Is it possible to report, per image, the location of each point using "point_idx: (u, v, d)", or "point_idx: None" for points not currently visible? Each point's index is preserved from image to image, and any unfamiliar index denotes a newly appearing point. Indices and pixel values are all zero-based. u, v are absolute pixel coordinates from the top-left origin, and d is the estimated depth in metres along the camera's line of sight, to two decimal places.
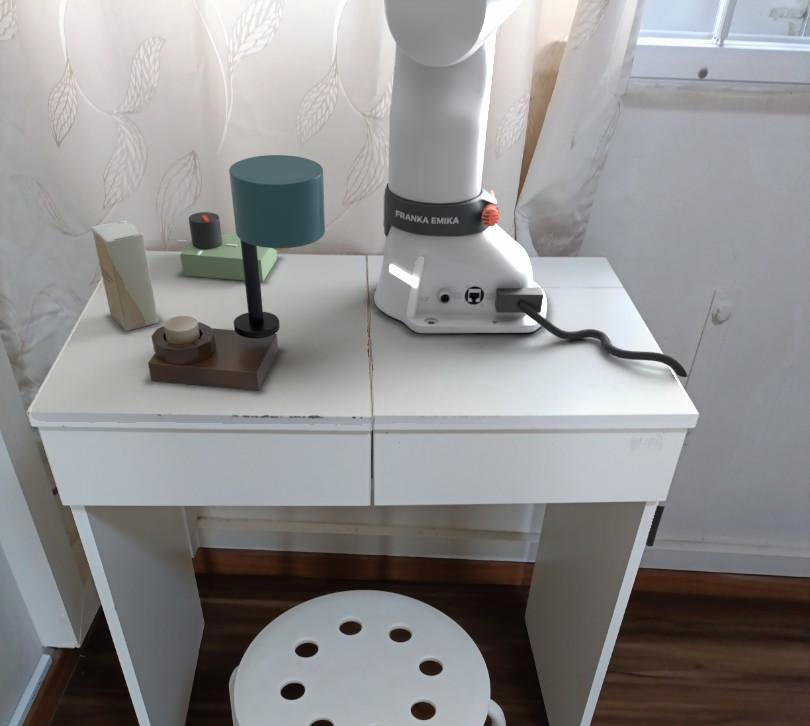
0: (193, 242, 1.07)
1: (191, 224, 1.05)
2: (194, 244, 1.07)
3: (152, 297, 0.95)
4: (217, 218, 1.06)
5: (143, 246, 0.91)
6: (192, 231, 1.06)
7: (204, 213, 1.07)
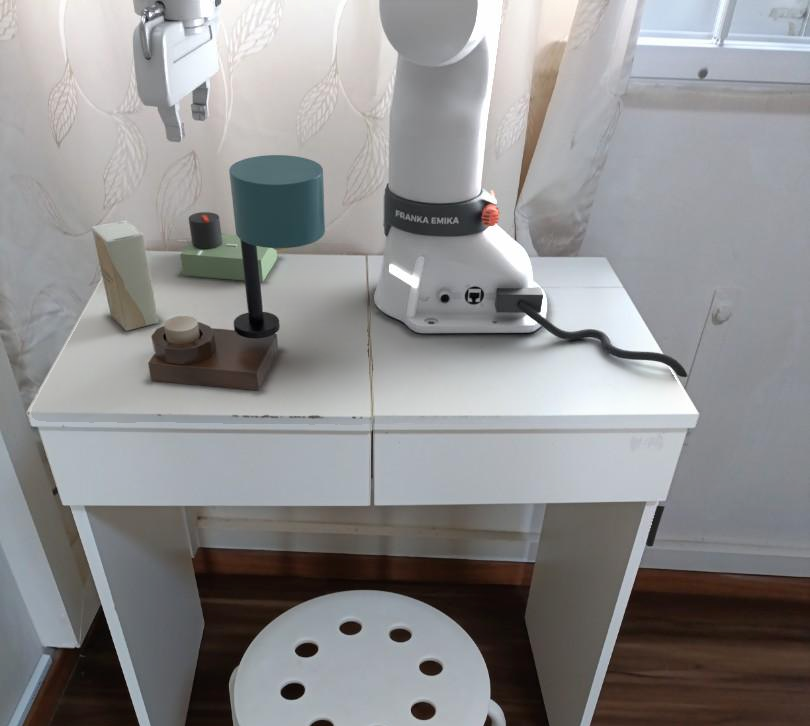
0: (193, 242, 1.07)
1: (191, 224, 1.05)
2: (194, 244, 1.07)
3: (152, 297, 0.95)
4: (217, 218, 1.06)
5: (143, 246, 0.91)
6: (192, 231, 1.06)
7: (204, 213, 1.07)
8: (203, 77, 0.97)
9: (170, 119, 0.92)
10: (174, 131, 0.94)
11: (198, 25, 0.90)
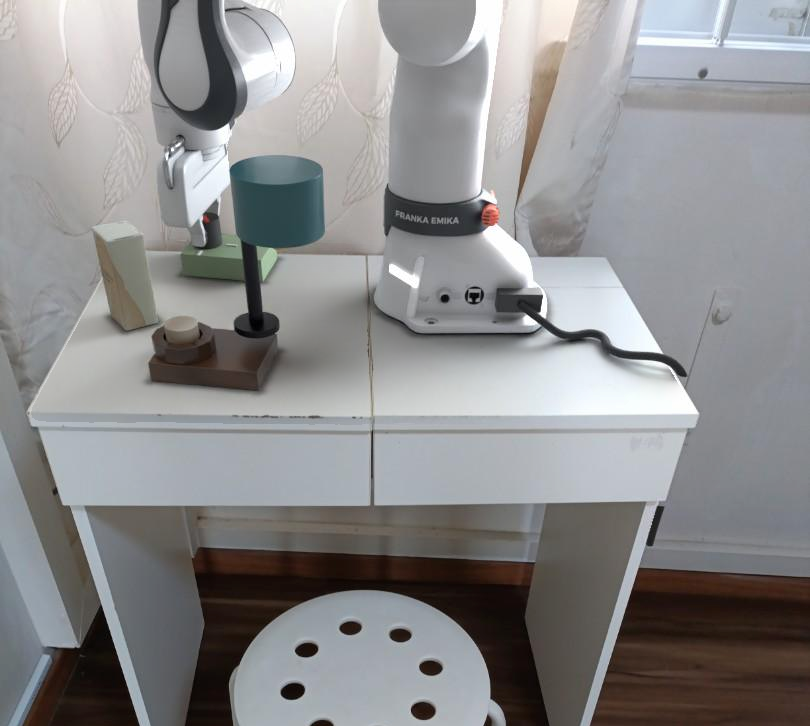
0: None
1: None
2: None
3: (152, 297, 0.95)
4: (217, 218, 1.06)
5: (143, 246, 0.91)
6: None
7: (204, 213, 1.07)
8: (219, 190, 1.06)
9: (195, 228, 1.03)
10: (198, 238, 1.04)
11: (215, 151, 0.99)
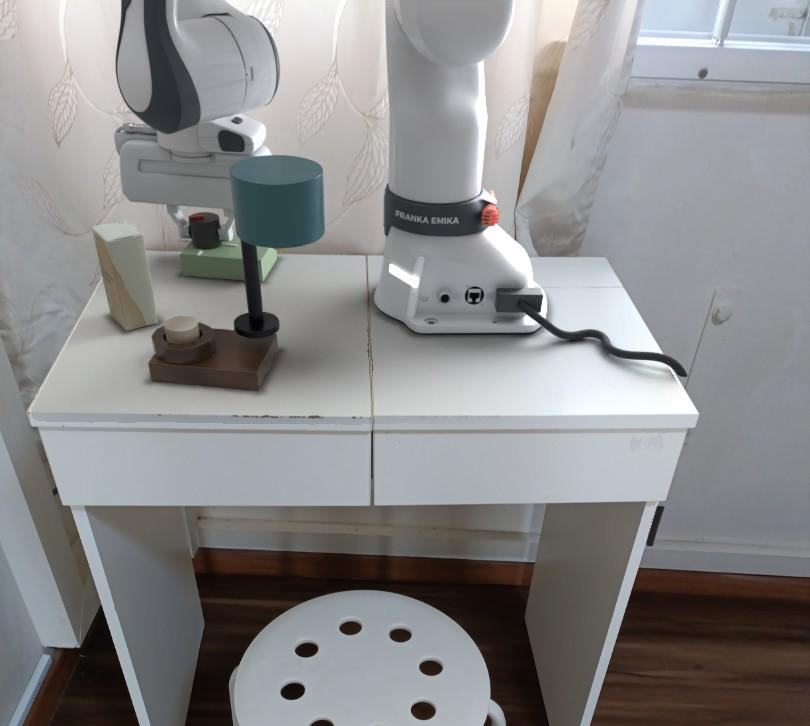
0: None
1: None
2: None
3: (152, 297, 0.95)
4: (198, 222, 1.05)
5: (143, 246, 0.91)
6: None
7: (214, 217, 1.06)
8: (214, 203, 1.03)
9: None
10: None
11: (180, 155, 0.98)
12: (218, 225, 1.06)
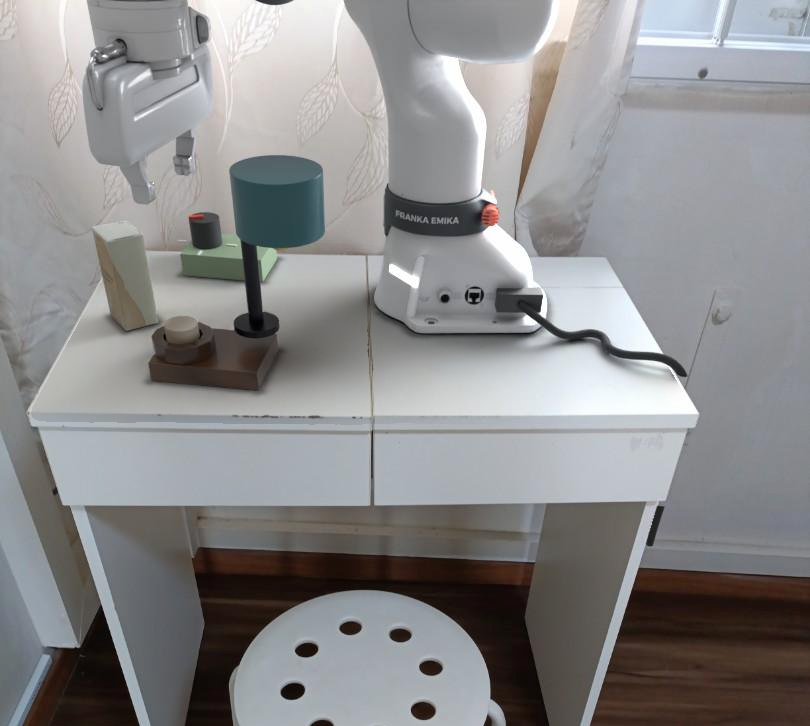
0: None
1: None
2: None
3: (152, 297, 0.95)
4: (198, 222, 1.05)
5: (143, 246, 0.91)
6: None
7: (214, 217, 1.06)
8: (184, 126, 0.81)
9: (135, 178, 0.77)
10: (141, 192, 0.78)
11: (171, 67, 0.74)
12: (218, 225, 1.06)
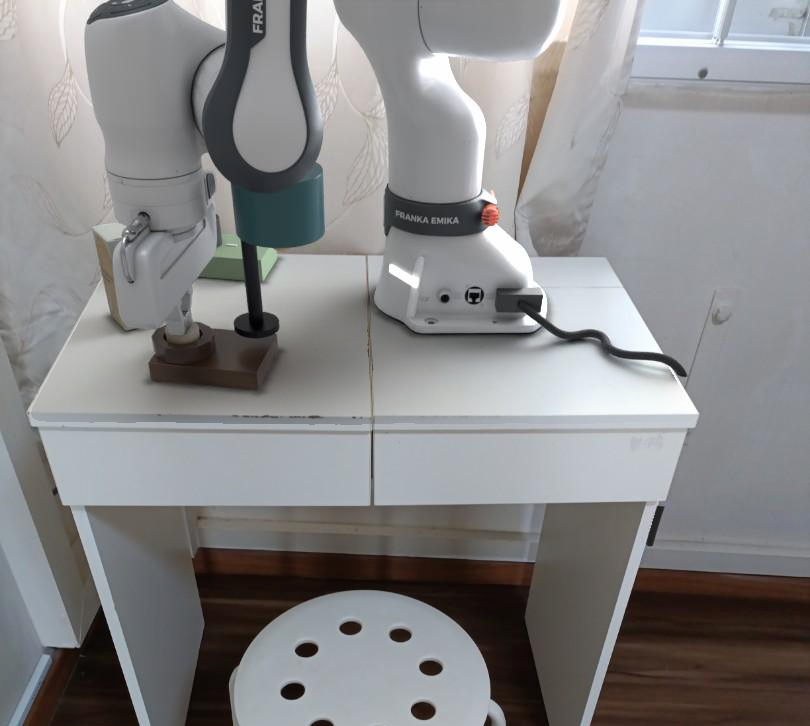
0: None
1: None
2: None
3: None
4: None
5: None
6: None
7: None
8: (196, 273, 0.84)
9: (171, 315, 0.83)
10: (176, 325, 0.84)
11: (189, 229, 0.78)
12: (218, 225, 1.06)
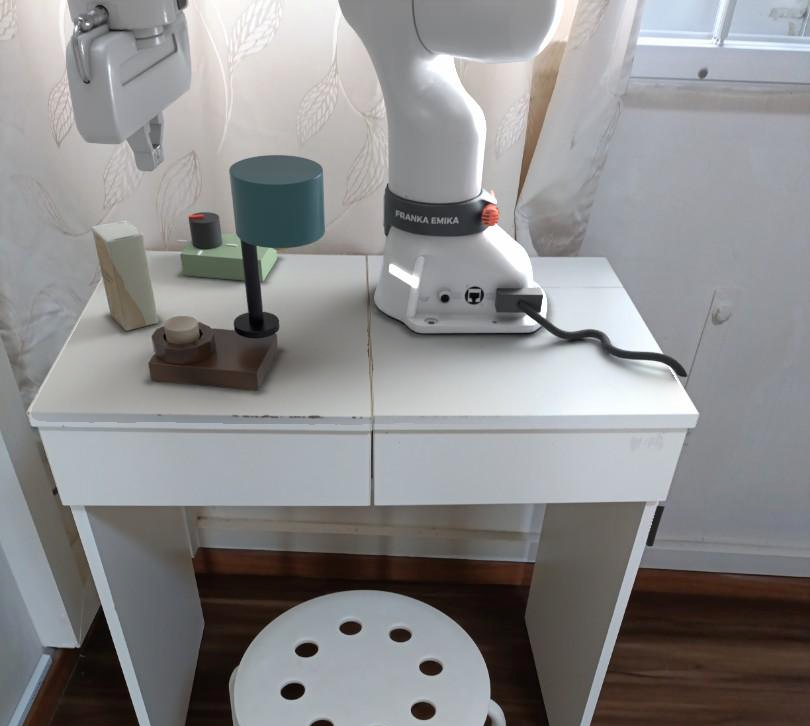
0: None
1: None
2: None
3: (152, 297, 0.95)
4: (198, 222, 1.05)
5: (143, 246, 0.91)
6: None
7: (214, 217, 1.06)
8: (167, 100, 0.76)
9: (139, 144, 0.75)
10: (145, 158, 0.76)
11: (155, 35, 0.69)
12: (218, 225, 1.06)
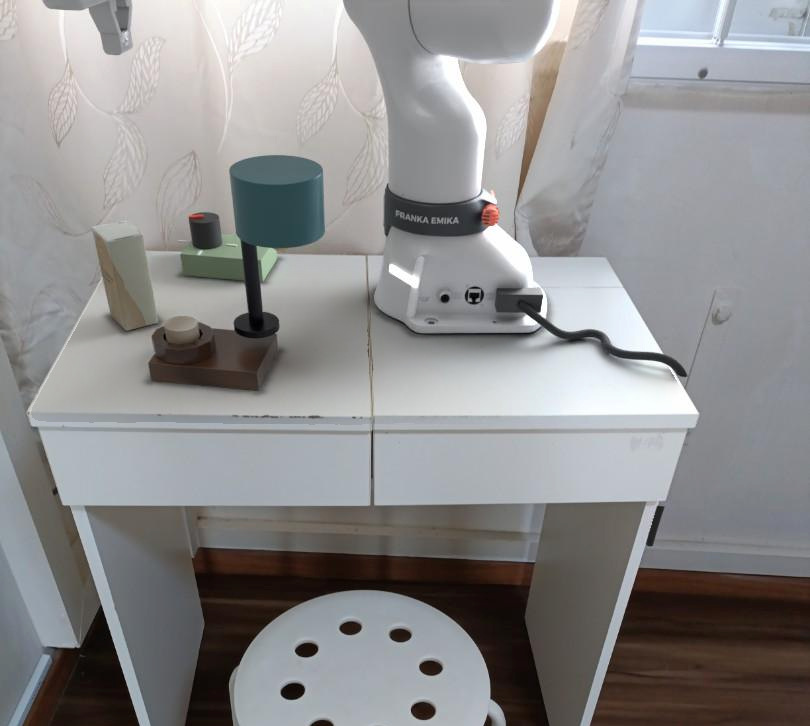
0: None
1: None
2: None
3: (152, 297, 0.95)
4: (198, 222, 1.05)
5: (143, 246, 0.91)
6: None
7: (214, 217, 1.06)
8: None
9: (106, 24, 0.73)
10: (112, 41, 0.75)
11: None
12: (218, 225, 1.06)
